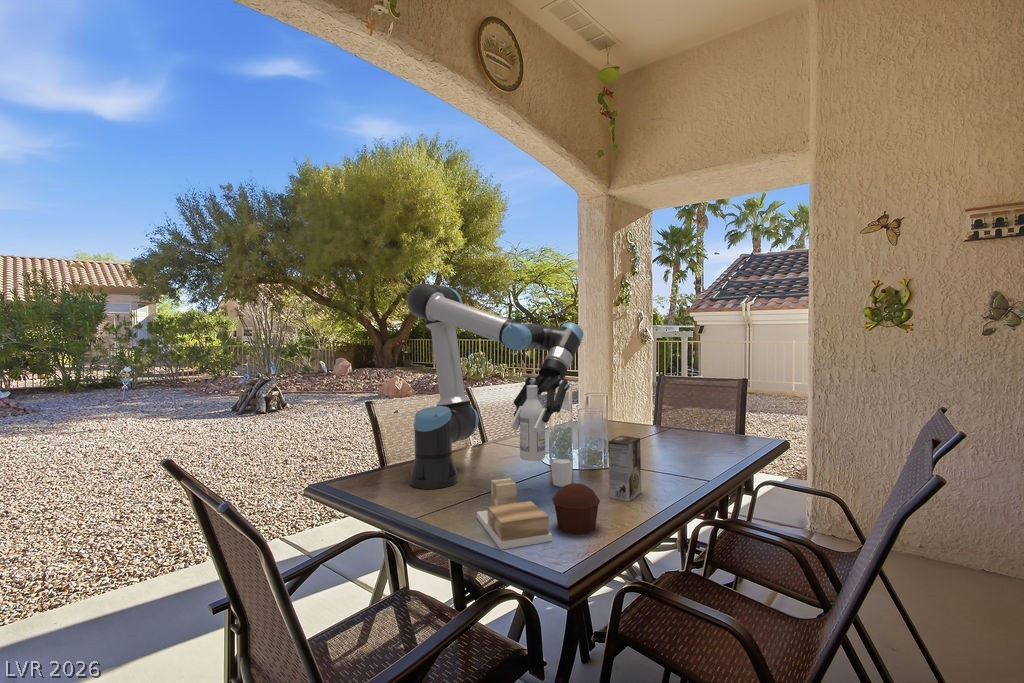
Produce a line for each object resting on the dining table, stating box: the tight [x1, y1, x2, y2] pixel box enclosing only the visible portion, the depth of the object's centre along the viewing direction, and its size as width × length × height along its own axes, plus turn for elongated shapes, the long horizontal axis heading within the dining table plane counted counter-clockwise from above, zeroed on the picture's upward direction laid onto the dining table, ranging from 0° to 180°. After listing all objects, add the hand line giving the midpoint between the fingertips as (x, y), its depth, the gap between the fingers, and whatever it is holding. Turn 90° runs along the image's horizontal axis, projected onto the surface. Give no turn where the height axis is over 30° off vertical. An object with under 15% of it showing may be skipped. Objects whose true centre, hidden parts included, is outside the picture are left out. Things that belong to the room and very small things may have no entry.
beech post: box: [490, 477, 518, 506], centre depth 121 cm, size 5×5×8 cm
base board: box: [476, 509, 553, 550], centre depth 115 cm, size 20×12×2 cm, turn 19°
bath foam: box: [519, 385, 546, 462], centre depth 132 cm, size 7×7×20 cm
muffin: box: [551, 482, 601, 536], centre depth 115 cm, size 12×11×10 cm
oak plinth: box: [487, 500, 550, 541], centre depth 111 cm, size 11×11×4 cm
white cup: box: [550, 458, 574, 488], centre depth 150 cm, size 7×7×7 cm
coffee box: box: [607, 435, 642, 502], centre depth 138 cm, size 9×6×16 cm
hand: (525, 429), depth 130 cm, fingers closed on bath foam, 7 cm apart
